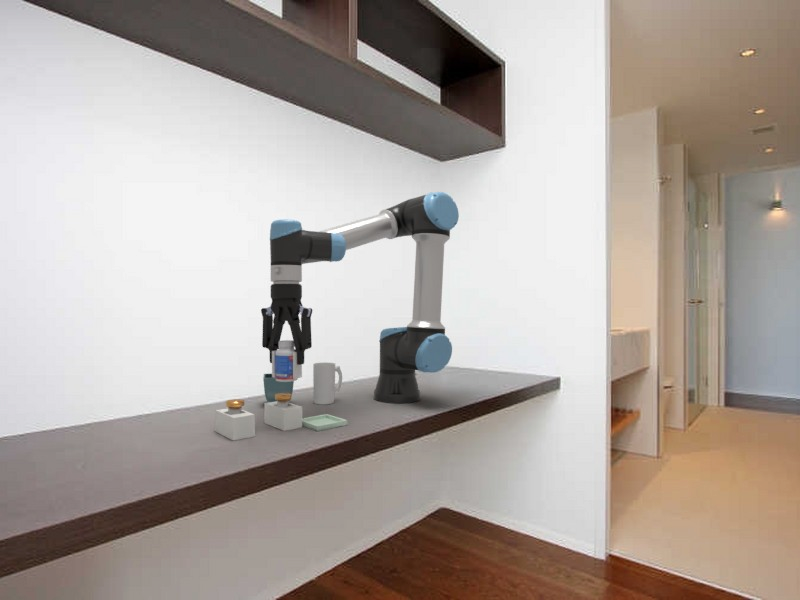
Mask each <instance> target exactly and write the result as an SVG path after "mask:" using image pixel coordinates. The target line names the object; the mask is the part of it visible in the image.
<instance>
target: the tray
mask: <svg viewBox="0 0 800 600" xmlns="http://www.w3.org/2000/svg"><path fill="white" fill-rule="evenodd" d="M344 426H348V420H347V419H344V418H341V417H339V416H334V415H331V414H329V413H326V414H325V413H324V414H320V415H314V416H307V417H304V418H303V417H302V427H305V428H307V429H309V430H313V431H316V432H321V431H325V430H331V429H335V428H340V427H344Z"/></svg>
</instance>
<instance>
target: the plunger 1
mask: <svg viewBox="0 0 800 600" xmlns="http://www.w3.org/2000/svg"><path fill="white" fill-rule="evenodd" d="M243 406H245V400H244V399H237V398H235V399H227V400H226V401H225V407H226V408H228V414H229V415H234V414H241V413H242V410H243Z"/></svg>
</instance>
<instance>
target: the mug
mask: <svg viewBox="0 0 800 600" xmlns="http://www.w3.org/2000/svg"><path fill="white" fill-rule="evenodd" d="M312 367H313V371H312V372H313V373H312V374H313V375H312V376H313V379H312V381H313V384H312V385H313V403H314V405H331V404H334V403H335V394H336V393H337V392H340V390H341V386H342V382H343V373H342V370H341V367H340V366H339V365H336V363H334V362H315V363H313V366H312ZM336 372H337V374H338V382H337V384H336ZM335 385H336V386H335Z"/></svg>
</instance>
